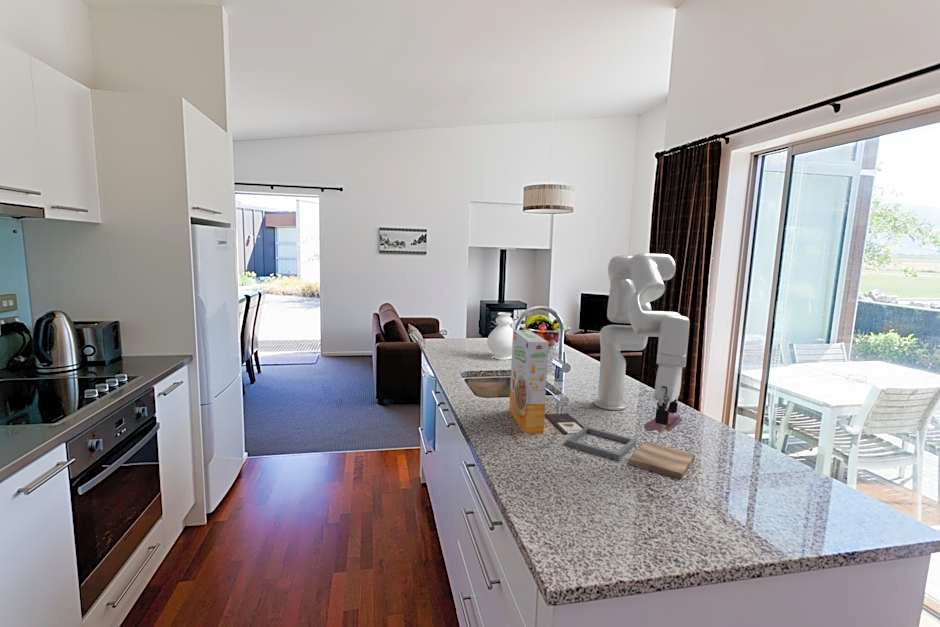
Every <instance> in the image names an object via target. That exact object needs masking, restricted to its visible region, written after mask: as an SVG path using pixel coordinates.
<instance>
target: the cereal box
mask: <svg viewBox="0 0 940 627" xmlns="http://www.w3.org/2000/svg"><path fill="white" fill-rule="evenodd" d="M549 346H550V344H549V341H548V340H547V339H545V338H543V337H541V336H539V335H538V334H536V333H535V332H533V331H532V330H530V329H528V330H527V329H526V330H523V329H518V330H517V329H513V342H512V355H511V356H512V360H511V364H510V366H511V367H510V384H509V385H510V386H509V407H508V408H509V409H508V411H509V410H510V411H509V412H511V413H512V414H511V413H510V414H511V416H512V415H513V416H512V418H513V419H514V418H515V419H514V421H517V422H516V423H517V425H518V424H519V425H518V426H519V427H521V428H520V429H521V430H523V431H522V432H523V433H539V434H544V429H545V428H544V427H545V416H544V415H545V414H546V412H545V411H546V397H547V396H546V395H547V380H548V379H547V377H548V359H549Z"/></svg>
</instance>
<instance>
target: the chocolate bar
mask: <svg viewBox="0 0 940 627" xmlns="http://www.w3.org/2000/svg"><path fill="white" fill-rule="evenodd" d="M544 418H546V419H547V420H548V421H549V422H550V423H551V424H552V425H553V426H555V428H556V429H557V430H559V432H560V433H562V434H563V435H574V434H576V433H577V432H579V431H580V430H582V429H583V428H585V427H586V426H584V425H583V424H582V423H580V422H579V421H578V420H576V419H575V418H574V417H573V416H572V415H570V414H569V413H545V415H544ZM587 433H588V434H591V433H590V432H589V431H588V432H587Z"/></svg>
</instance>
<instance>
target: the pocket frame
mask: <svg viewBox="0 0 940 627" xmlns="http://www.w3.org/2000/svg"><path fill="white" fill-rule="evenodd" d="M584 427H585V428H583V429H582V430H580V431H579V432H577V433H576V434H572V436H570V437H568V438H567V439H566V440H565V446H569V447H572V448H575V449H578V450H583V451H585V452H588V451H589V453H592V454H596V455H599V456H602V455H603V457H606V458H610V459H613V460H616V461H620V460H621V459H622V458H623V457H624V456H625V455H626V454H628V453H629V451H631V449H633V448H634V446H636V445H635V444H637V439H636V438H631V437H628V436H624V435H620V434H617V433H613V432H609V431H605V430H601V429H597V428H594V427H590V426H584ZM588 431H589V432H590V433H589V434H591V435H594V434H595V435H596V436H598V435H599V436H598V437H602V436H603V437H602V438H606V437H607V438H606V439H609V438H611V439H610V440H613V439H615V440H614V441H617V440H618V442H621V441H622V442H621V443H624V442H625V443H626V444H624V446H622V447H621V448H620V449H619V450H617V452H615V451H612V450H609V449H604V448H601V447H597V446H595V445H591V444H587V443H584V442H580V441H578V440H580V439H581V438H582V437H584V436H586V435H587V432H588Z"/></svg>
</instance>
